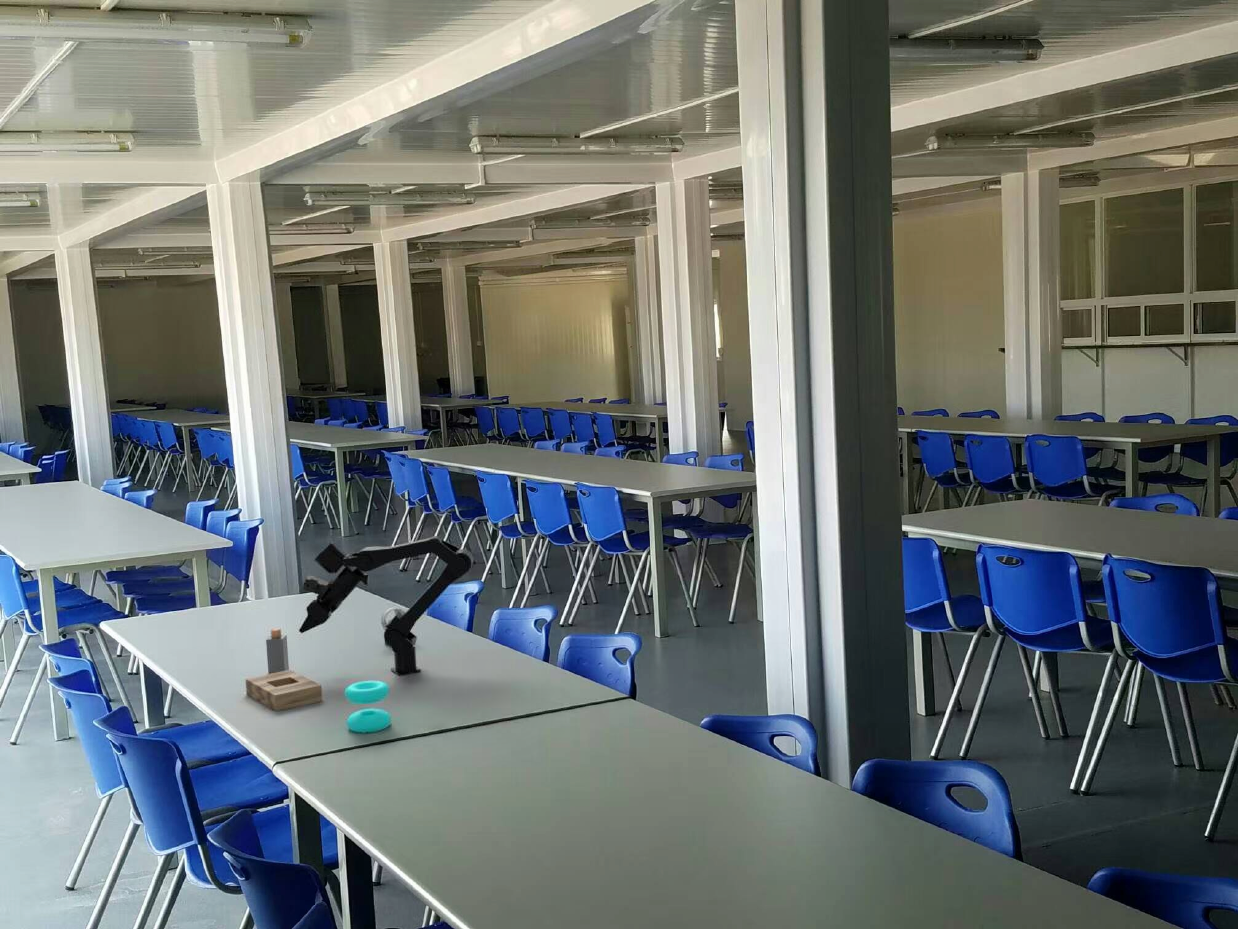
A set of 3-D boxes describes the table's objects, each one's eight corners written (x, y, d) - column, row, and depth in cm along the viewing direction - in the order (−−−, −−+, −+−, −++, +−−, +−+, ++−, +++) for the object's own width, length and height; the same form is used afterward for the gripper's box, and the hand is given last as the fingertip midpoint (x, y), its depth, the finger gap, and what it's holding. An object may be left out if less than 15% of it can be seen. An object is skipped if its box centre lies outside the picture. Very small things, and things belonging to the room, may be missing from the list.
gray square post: (289, 674, 332) (286, 627, 330) (285, 679, 327) (282, 631, 326) (272, 675, 332) (269, 628, 330) (268, 680, 327) (265, 632, 326)
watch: (412, 643, 361) (410, 606, 360) (388, 648, 356) (386, 611, 354) (403, 640, 365) (401, 604, 364) (379, 645, 360) (377, 608, 359)
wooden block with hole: (322, 700, 306) (321, 685, 305) (276, 711, 299) (274, 695, 298) (291, 684, 322) (290, 669, 321) (246, 694, 315) (245, 679, 314)
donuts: (386, 677, 288) (390, 688, 279) (389, 718, 289) (393, 731, 280) (343, 682, 286) (345, 693, 276) (346, 723, 287) (348, 736, 277)
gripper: (327, 559, 336) (289, 600, 337) (312, 572, 317) (272, 616, 318) (357, 586, 337) (319, 627, 338) (345, 600, 318) (305, 644, 319)
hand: (304, 627), depth 328 cm, fingers open, 9 cm apart
